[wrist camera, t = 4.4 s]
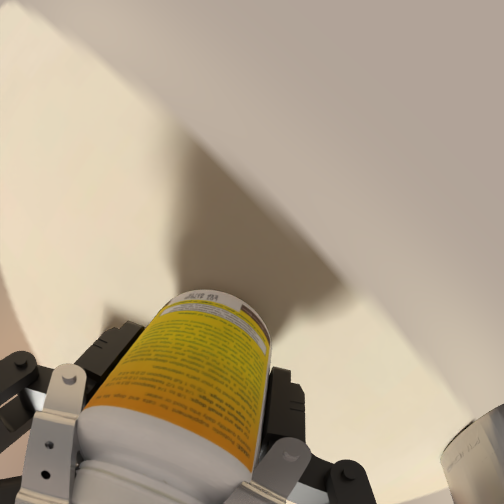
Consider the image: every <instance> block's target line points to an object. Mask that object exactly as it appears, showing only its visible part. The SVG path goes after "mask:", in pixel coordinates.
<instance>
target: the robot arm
mask: <svg viewBox="0 0 504 504" xmlns="http://www.w3.org/2000/svg"><path fill="white" fill-rule="evenodd" d="M144 330H145V328H144V327H143V326H141V325H138V324H135V323H133V322H130V321H127V322H126V323H125V324H124V325H123V326H122V327H121V328H120V329H117V328H115V327H114V328H112V329H110V330H108V331H105V332H104V333H103V334H102V335H101V336H100V337H99V338H98V340H96V341H95V342H94V343H93V345H91V346H90V347H89V348H88V349H87V350H86V351H85V353H84V354H83V355H82V356H81V357H80V358H79V359H78V360H77V361H76V362H75V363H74V364H62V365H60V366H58V367H56V368H55V369H51V368H47V367H43V366H40V365H37V362H36V359H35V357H34V356H33V355H32V354H31V353H29V352H26V351H17V352H14V353H12V354H10V355H9V356H7V357H5V358H4V359H3V360H0V406H1V405H2V404H3V403H4V402H6V401H7V400H9V399H10V398H11V397H13V396H14V395H16V394H17V395H18V396H17V397H15V398H14V399H13V400H11V401H10V402H8V403H7V404H5V405H4V406H3V407H1V408H0V453H1V452H3V451H4V450H5V449H6V448H7V447H9V446H10V445H11V444H12V443H13V442H15V441H16V440H17V439H19V438H20V437H21V436H22V435H23V434H25V433H26V432H27V431H28V430H30V429H31V430H30V435H29V440H28V445H27V450H26V456H25V461H24V468H23V475H22V476H17V477H12V478H6V479H0V504H73V503H72V494H73V488H74V482H75V477H76V470H79V469H80V468H79V466H80V464H81V463H82V462H83V461H86V459H85V457H84V455H83V452H82V450H81V447H80V444H79V440H78V434H77V420H78V419H77V418H78V416H79V415H80V413H81V412H82V410H83V409H84V407H85V406H86V405H87V403H88V402H89V400H90V399H91V398H92V397H93V395H94V394H95V393H96V392H97V390H98V389H99V387H100V386H101V385H102V384H103V383H104V381H105V380H106V379H107V377H108V376H109V374H110V373H111V372H112V371H113V370H114V368H115V367H116V366H117V364H118V363H119V361H120V360H121V359H122V357H123V356H124V355H125V354H126V353H127V351H128V350H129V349H130V347H131V346H132V345H133V344H134V342H135V341H136V340H137V339H138V337H139V336H140V335H141V334H142V332H143V331H144ZM304 404H305V394H304V392H303V390H302V388H301V386H300V384H295V383H291V371H290V370H287V369H282V368H278V367H273V368H272V370H271V372H270V375H269V382H268V391H267V399H266V408H265V416H264V424H263V431H262V439H261V447H260V455H259V462H258V466H257V467H256V468H255V469H254V471H253V473H252V478H251V481H250V482H247V481H243V482H242V483H241V484H240V485H239V487H238V488H237V489H236V490H235V491H234V492H233V493H232V495H231V496H230V497H229V498H228V499H227V500H226V501H225V502H224V503H223V504H286V500H289V501H291V502H294V503H296V504H377V503H376V500H375V497H374V495H373V492H372V489H371V486H370V483H369V480H368V477H367V474H366V472H365V470H364V468H363V467H362V466H361V465H360V464H359V463H357V462H355V461H353V460H340V461H338V462H336V463H335V464H333V463H330V462H327V461H325V460H322V459H320V458H318V457H316V456H315V455H313V454H312V453H311V451H310V448H309V447H308V446H307V445H306V441H305V405H304ZM441 465H442V467H443V470H444V473H445V476H446V479H447V482H448V486H449V489H450V492H451V496H452V499H453V502H454V504H504V404H502V405H500V406H498V407H496V408H495V409H493V410H491V411H489V412H488V413H486V414H485V415H483V416H482V417H481V418H479V419H478V420H476V421H475V422H474V423H473V424H471V425H470V426H469V427H467V428H466V429H465V430H464V431H463V432H462V433H460V434H459V435H458V436H457V437H456V438H455V439H454V440H453V441H452V442H451V443H450V445H449V446H448V447H447V448H446V450H445V451H444V453H443V454H442V457H441Z"/></svg>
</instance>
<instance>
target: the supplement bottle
mask: <svg viewBox="0 0 504 504" xmlns="http://www.w3.org/2000/svg"><path fill="white" fill-rule="evenodd" d="M271 351H272V345H271V338H270V335H269V332H268V329H267V327H266V325H265V323H264V322H263V320H262V318H261V317H260V316H259V315H258V313H257V312H256V311H255V310H254V309H253V308H252V307H251V306H249V305H248V304H247V303H245V302H244V301H242V300H241V299H239V298H237V297H235V296H233V295H230V294H227V293H225V292H221V291H216V290H203V289H201V290H193V291H188V292H185V293H182V294H180V295H178V296H176V297H174V298H173V299H171V300H170V301H169V302H168V303H167V304H166V305H165V306H164V307H163V308H162V309H161V310H160V311H159V312H158V314H157V315H156V316H155V317H154V319H153V320H152V321H151V322H150V324H149V325H148V326H147V327H146V329H145V330H144V331H143V332H142V334H141V335H140V336H139V337H138V339H137V340H136V341H135V342H134V344H133V345H132V346H131V347H130V349H129V350H128V351H127V353H126V354H125V355H124V356H123V357H122V359H121V360H120V361H119V363H118V364H117V366H116V367H115V368H114V370H113V371H112V372H111V373H110V374H109V376H108V377H107V379H106V380H105V381H104V383H103V384H102V385H101V386H100V387H99V389H98V390H97V392H96V393H95V394H94V395H93V397H92V398H91V399H90V400H89V402H88V403H87V405H86V406H85V407H84V409H83V410H82V412H81V413H80V415H79V416H78V418H77V419H78V420H77V434H78V440H79V444H80V447H81V450H82V452H83V455H84V457H85V459H86V461H83V462H82V463H81V464H80V466H79V468H80V469H79V470H76V477H75V482H74V488H73V494H72V503H73V504H223V503H224V502H225V501H226V500H227V499H228V498H229V497H230V496H231V495H232V493H233V492H234V491H235V490H236V489H237V488H238V487H239V485H240V484H241V483H242V482H243V481H247V482H250V481H251V478H252V473H253V471H254V469H255V468H256V467H257V466H258V462H259V455H260V447H261V439H262V431H263V424H264V416H265V408H266V399H267V391H268V382H269V372H270V363H271Z"/></svg>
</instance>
